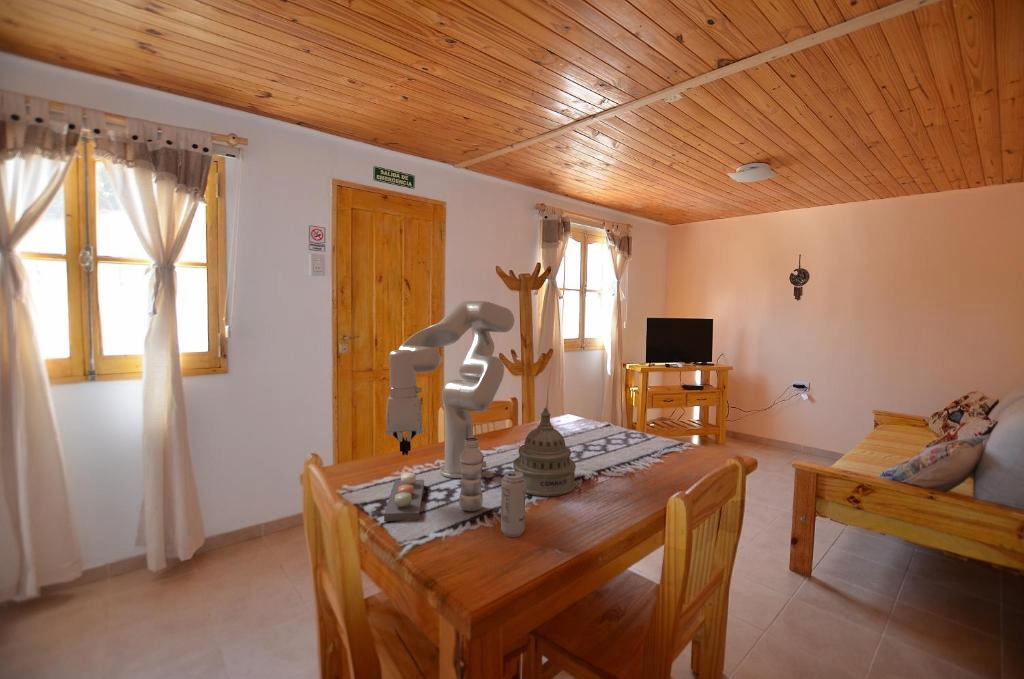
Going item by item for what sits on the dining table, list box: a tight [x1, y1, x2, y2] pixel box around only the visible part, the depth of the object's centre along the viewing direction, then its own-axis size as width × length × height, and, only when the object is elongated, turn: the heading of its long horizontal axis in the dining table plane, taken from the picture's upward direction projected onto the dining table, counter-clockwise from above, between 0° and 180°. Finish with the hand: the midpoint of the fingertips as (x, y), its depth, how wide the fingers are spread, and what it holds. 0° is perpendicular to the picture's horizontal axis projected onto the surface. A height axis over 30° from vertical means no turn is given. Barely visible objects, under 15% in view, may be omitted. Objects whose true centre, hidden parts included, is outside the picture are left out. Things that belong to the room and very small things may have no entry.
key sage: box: [395, 493, 411, 506], centre depth 126 cm, size 4×4×2 cm
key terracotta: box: [398, 485, 414, 496], centre depth 134 cm, size 4×4×2 cm
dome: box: [512, 407, 577, 497], centre depth 148 cm, size 20×25×20 cm
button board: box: [383, 479, 425, 522], centre depth 134 cm, size 9×23×2 cm, turn 7°
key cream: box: [400, 472, 417, 485], centre depth 141 cm, size 4×4×2 cm
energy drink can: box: [500, 470, 526, 538], centre depth 117 cm, size 6×6×15 cm
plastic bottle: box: [458, 437, 484, 512], centre depth 129 cm, size 6×7×20 cm
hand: (405, 453), depth 136 cm, fingers closed
